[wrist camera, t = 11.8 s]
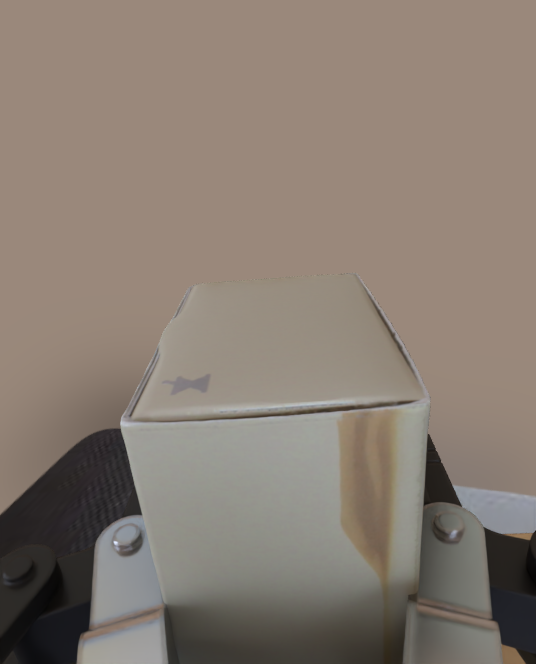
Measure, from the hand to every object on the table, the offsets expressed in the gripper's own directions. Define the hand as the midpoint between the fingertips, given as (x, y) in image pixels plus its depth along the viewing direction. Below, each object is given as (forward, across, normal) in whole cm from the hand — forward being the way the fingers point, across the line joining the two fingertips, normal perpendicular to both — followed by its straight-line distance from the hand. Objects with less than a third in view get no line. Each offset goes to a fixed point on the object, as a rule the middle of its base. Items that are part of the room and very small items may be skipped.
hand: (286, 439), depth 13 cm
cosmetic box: (-3, 0, +8) cm, 8 cm away
